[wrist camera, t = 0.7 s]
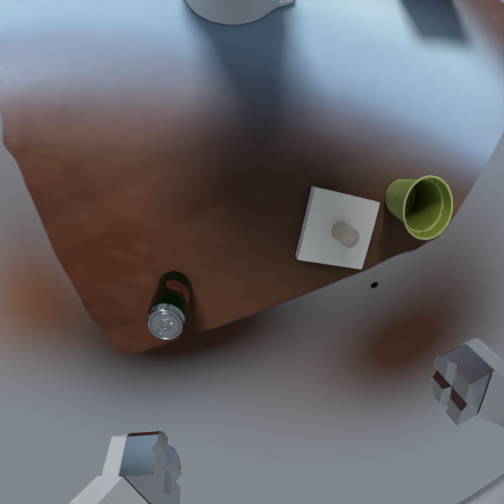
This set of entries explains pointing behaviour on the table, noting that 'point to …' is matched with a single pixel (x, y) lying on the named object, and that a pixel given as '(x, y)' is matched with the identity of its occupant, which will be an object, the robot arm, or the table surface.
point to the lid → (337, 229)
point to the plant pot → (421, 205)
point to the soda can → (169, 306)
